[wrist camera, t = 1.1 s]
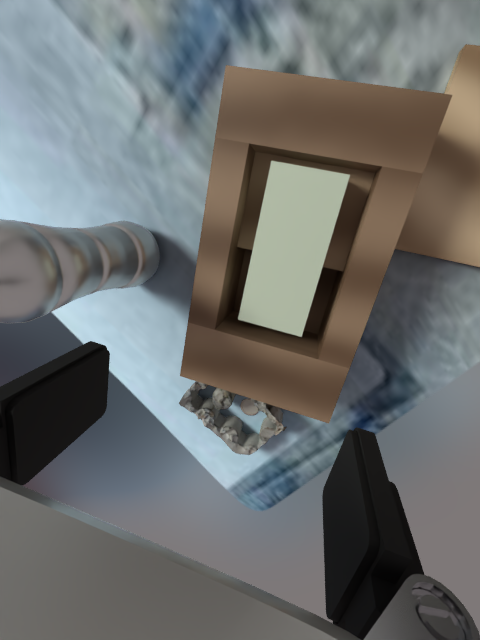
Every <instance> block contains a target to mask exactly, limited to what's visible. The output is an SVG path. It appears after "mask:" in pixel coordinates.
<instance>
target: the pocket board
mask: <svg viewBox="0 0 480 640" xmlns="http://www.w3.org/2000/svg"><path fill="white" fill-rule="evenodd" d="M451 98H452V95H449V94H442V93H434V92H426V91H419V90H411V89H403V88H396V87H388V86H380V85H373V84H365V83H358V82H350V81H342V80H335V79H327V78H319V77H312V76H304V75H296V74H289V73H281V72H273V71H266V70H258V69H250V68H243V67H235V66H227V65H226V69H225V75H224V82H223V89H222V96H221V102H220V109H219V116H218V123H217V130H216V136H215V143H214V150H213V157H212V163H211V170H210V177H209V184H208V190H207V197H206V204H205V211H204V217H203V224H202V231H201V238H200V244H199V251H198V258H197V265H196V272H195V278H194V285H193V292H192V299H191V305H190V312H189V319H188V326H187V332H186V339H185V346H184V353H183V359H182V366H181V373H180V376H182V377H185V378H188V379H191V380H195V381H198V382H201V383H204V384H207V385H210V386H213V387H217V388H220V389H223V390H226V391H229V392H232V393H235V394H238V395H242V396H245V397H248V398H251V399H254V400H257V401H260V402H264V403H267V404H270V405H273V406H276V407H279V408H282V409H285V410H289V411H292V412H295V413H298V414H301V415H304V416H307V417H311V418H314V419H317V420H320V421H323V422H326V423H329V422H330V419H331V416H332V414H333V411H334V408H335V406H336V403H337V400H338V398H339V395H340V392H341V390H342V387H343V384H344V382H345V379H346V376H347V374H348V371H349V369H350V366H351V363H352V361H353V358H354V355H355V353H356V350H357V347H358V345H359V342H360V339H361V337H362V334H363V331H364V329H365V326H366V323H367V321H368V318H369V315H370V313H371V310H372V308H373V305H374V302H375V300H376V297H377V294H378V292H379V289H380V286H381V284H382V281H383V278H384V276H385V273H386V270H387V268H388V265H389V262H390V260H391V257H392V254H393V252H394V249H395V246H396V244H397V241H398V239H399V236H400V233H401V231H402V228H403V225H404V223H405V220H406V217H407V215H408V212H409V209H410V207H411V204H412V201H413V199H414V196H415V193H416V191H417V188H418V185H419V183H420V180H421V178H422V175H423V172H424V170H425V167H426V164H427V162H428V159H429V156H430V154H431V151H432V148H433V146H434V143H435V140H436V138H437V135H438V132H439V130H440V127H441V124H442V122H443V119H444V117H445V114H446V111H447V109H448V106H449V103H450V101H451ZM271 161H276V162H282V163H287V164H293V165H299V166H304V167H310V168H315V169H321V170H326V171H332V172H337V173H343V174H348V175H350V177H349V180H348V184H347V187H346V190H345V194H344V197H343V200H342V204H341V207H340V210H339V214H338V217H337V220H336V224H335V227H334V230H333V234H332V237H331V240H330V244H329V247H328V250H327V254H326V257H325V260H324V264H323V267H322V270H321V274H320V277H319V281H318V284H317V287H316V291H315V294H314V297H313V301H312V304H311V307H310V311H309V314H308V317H307V321H306V324H305V327H304V331H303V334H302V337H300V336H296V335H292V334H289V333H285V332H282V331H278V330H274V329H271V328H267V327H263V326H260V325H256V324H253V323H249V322H245V321H242V320H238V317H239V312H240V307H241V303H242V298H243V293H244V288H245V284H246V279H247V274H248V269H249V265H250V260H251V255H252V250H253V246H254V241H255V236H256V231H257V227H258V222H259V217H260V213H261V208H262V203H263V198H264V194H265V189H266V184H267V179H268V175H269V170H270V165H271Z"/></svg>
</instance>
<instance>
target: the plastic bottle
mask: <svg viewBox="0 0 480 640" xmlns="http://www.w3.org/2000/svg"><path fill="white" fill-rule="evenodd" d="M159 261H160V251H159V246H158V244H157V241H156V239H155V238H154V236H153V235H152V234H151V233H150V231H149V230H147V229H146V228H145V227H143V226H141V225H138V224H135V223H132V222H128V221H118V222H113V223H108V224H105V225H102V226H96V227H88V228H61V227H50V226H44V225H38V224H32V223H26V222H19V221H14V220H2V219H0V322H1V323H22V322H28V321H31V320H34V319H36V318H38V317H41V316H43V315H46V314H47V313H49V312H51V311H53V310H55V309H57V308H59V307H61V306H63V305H65V304H67V303H69V302H71V301H73V300H75V299H78V298H81V297H83V296H86V295H89V294H91V293H94V292H97V291H102V290H108V289H113V288H130V287H136V286H139V285H141V284H142V283H144V282H145V281H147V280H148V279H150V278H151V277H152V276H153V275H154V274H155V272H156V270H157V268H158V266H159Z"/></svg>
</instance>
